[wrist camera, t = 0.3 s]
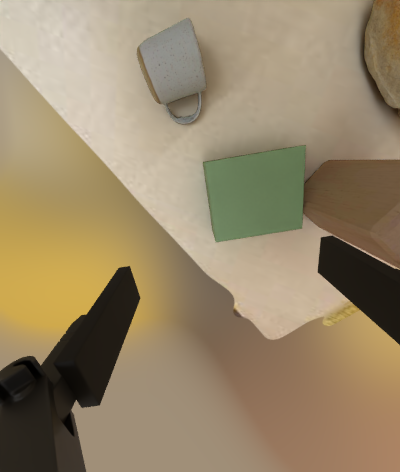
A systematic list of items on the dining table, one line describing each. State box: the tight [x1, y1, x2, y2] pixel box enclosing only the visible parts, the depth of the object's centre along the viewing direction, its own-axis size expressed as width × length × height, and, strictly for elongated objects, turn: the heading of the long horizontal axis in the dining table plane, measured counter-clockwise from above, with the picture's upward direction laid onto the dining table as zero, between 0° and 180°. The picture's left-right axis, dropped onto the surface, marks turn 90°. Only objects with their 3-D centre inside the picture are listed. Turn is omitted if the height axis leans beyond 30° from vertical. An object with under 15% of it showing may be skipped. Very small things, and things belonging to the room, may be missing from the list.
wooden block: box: [303, 160, 400, 269], centre depth 29 cm, size 10×10×20 cm
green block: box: [203, 145, 306, 242], centre depth 35 cm, size 14×16×6 cm
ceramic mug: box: [137, 18, 206, 124], centre depth 28 cm, size 11×8×8 cm
